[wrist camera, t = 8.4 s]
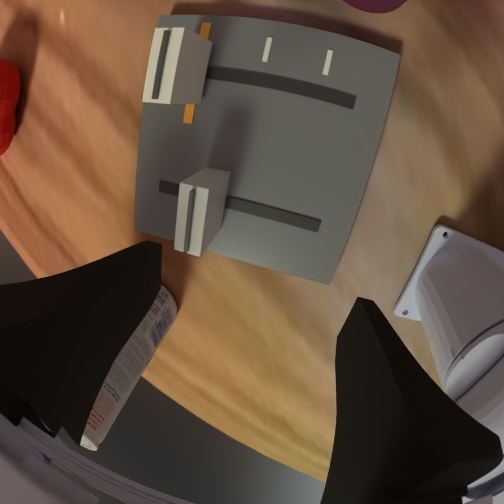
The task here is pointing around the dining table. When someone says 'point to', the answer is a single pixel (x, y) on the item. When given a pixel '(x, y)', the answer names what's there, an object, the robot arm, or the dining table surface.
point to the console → (266, 145)
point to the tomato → (8, 102)
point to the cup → (376, 5)
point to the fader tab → (176, 67)
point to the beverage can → (129, 368)
